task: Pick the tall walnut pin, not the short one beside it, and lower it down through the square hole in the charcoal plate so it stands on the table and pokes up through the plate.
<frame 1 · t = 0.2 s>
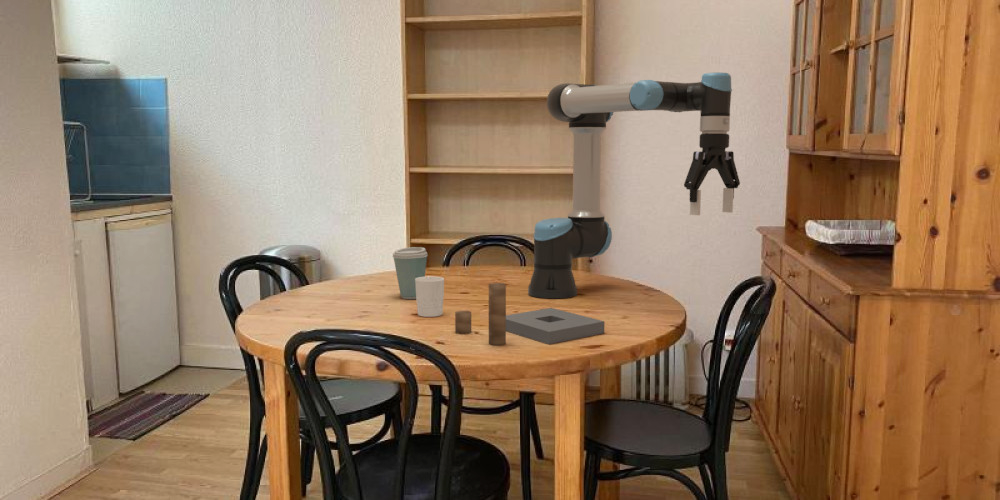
hand: (711, 213, 205), 28 cm above the table, tool pointing down, fingers open, 13 cm apart
hole plate: (550, 330, 192), on the table
disposable coffee cup: (410, 298, 234), on the table
short pin: (463, 332, 190), on the table
white cup: (430, 315, 210), on the table
tall pin: (497, 343, 179), on the table
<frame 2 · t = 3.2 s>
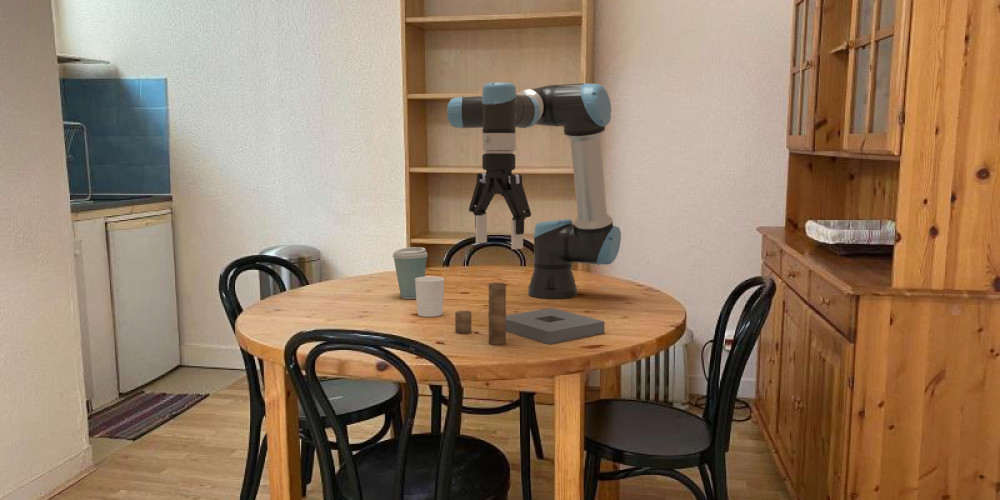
hand: (498, 245, 176), 23 cm above the table, tool pointing down, fingers open, 13 cm apart
nothing on the table moved.
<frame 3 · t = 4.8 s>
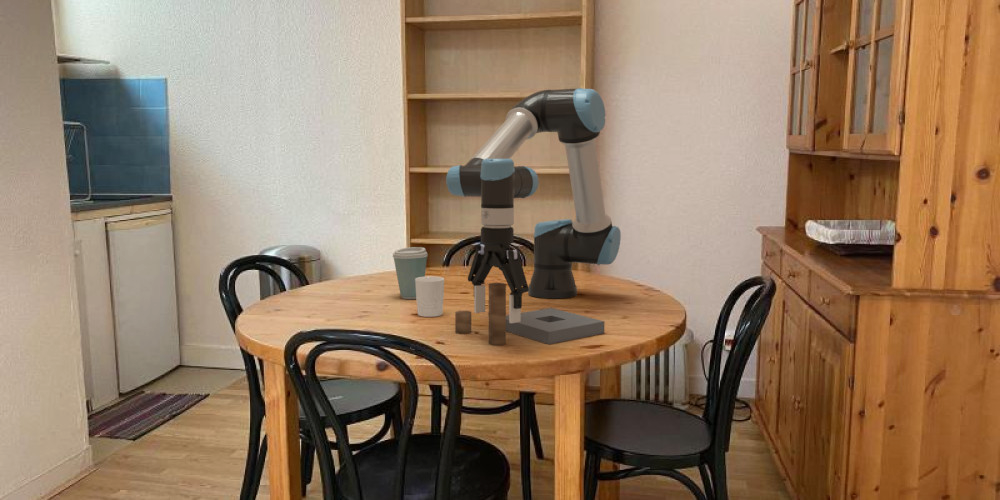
hand: (496, 317, 178), 6 cm above the table, tool pointing down, fingers open, 13 cm apart
nothing on the table moved.
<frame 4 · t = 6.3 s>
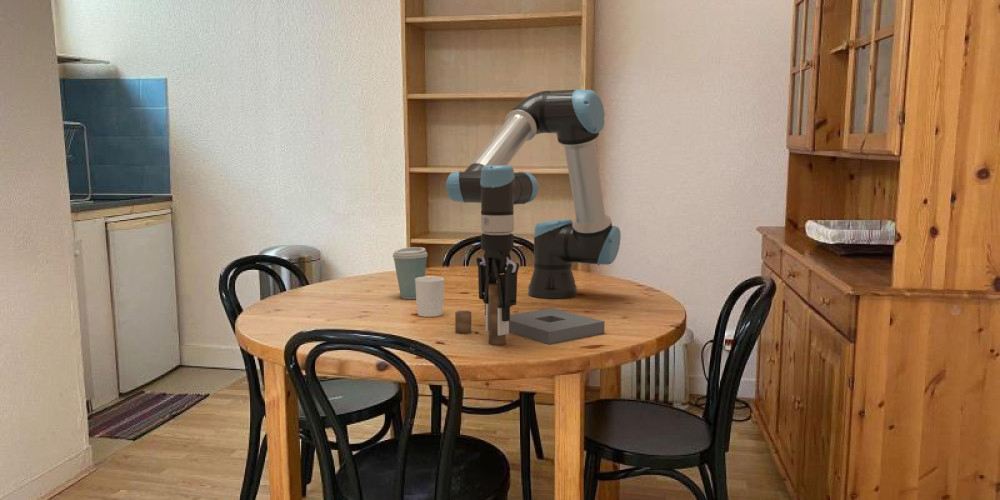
hand: (497, 332, 179), 3 cm above the table, tool pointing down, fingers closed on tall pin, 4 cm apart
tall pin: (497, 343, 179), on the table, touching gripper
everything else where it was.
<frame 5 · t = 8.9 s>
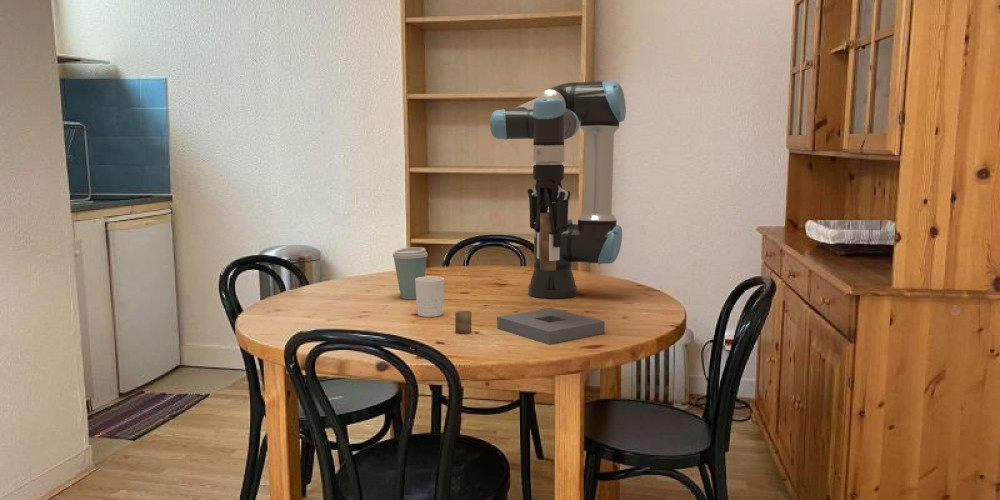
hand: (548, 259, 189), 18 cm above the table, tool pointing down, fingers closed on tall pin, 4 cm apart
tall pin: (547, 269, 189), point 16 cm above the table, touching gripper
everything else where it was.
when the fingers open (4 cm above the table, at t = 11.8 s): tall pin stays where it is, resting in hole plate.
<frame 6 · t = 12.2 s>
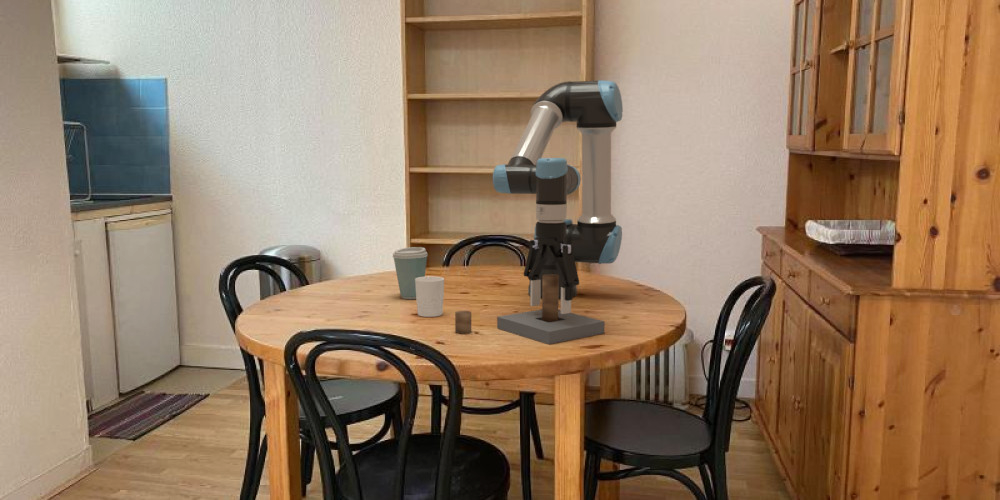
hand: (550, 309, 191), 5 cm above the table, tool pointing down, fingers open, 11 cm apart
tall pin: (550, 330, 192), resting in hole plate
everything else where it was.
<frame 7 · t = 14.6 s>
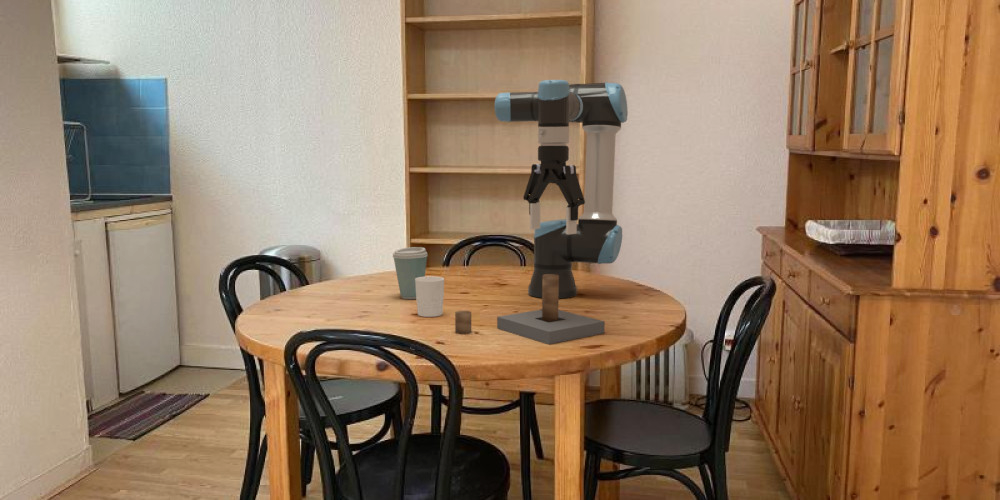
hand: (552, 231, 190), 25 cm above the table, tool pointing down, fingers open, 13 cm apart
nothing on the table moved.
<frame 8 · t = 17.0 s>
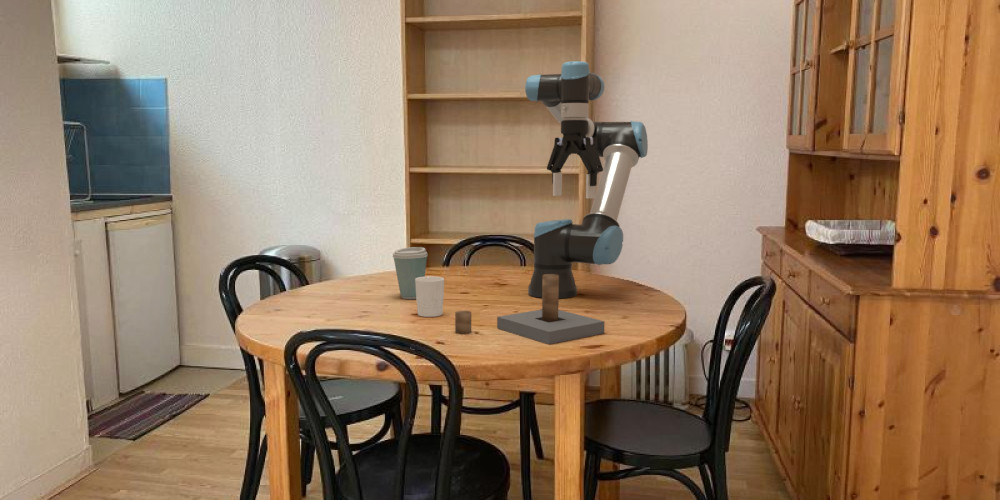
hand: (573, 197, 213), 32 cm above the table, tool pointing down, fingers open, 13 cm apart
nothing on the table moved.
at the end: tall pin 0.0 cm off-centre on the hole plate, point 0.0 cm above the hole plate's base; tall pin tilted 0°; short pin moved 0.1 cm from its start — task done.
